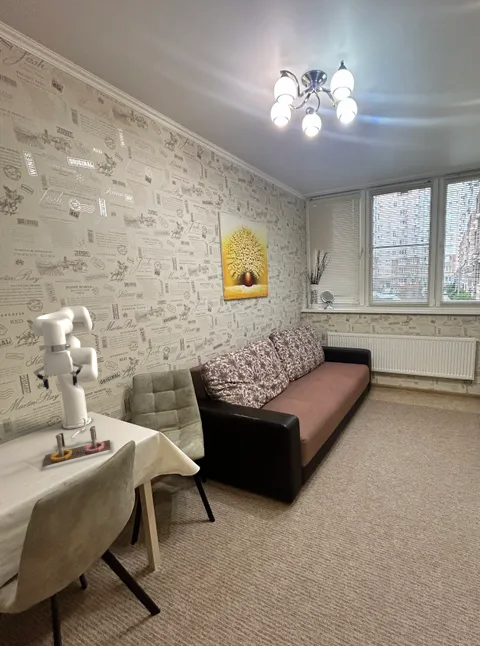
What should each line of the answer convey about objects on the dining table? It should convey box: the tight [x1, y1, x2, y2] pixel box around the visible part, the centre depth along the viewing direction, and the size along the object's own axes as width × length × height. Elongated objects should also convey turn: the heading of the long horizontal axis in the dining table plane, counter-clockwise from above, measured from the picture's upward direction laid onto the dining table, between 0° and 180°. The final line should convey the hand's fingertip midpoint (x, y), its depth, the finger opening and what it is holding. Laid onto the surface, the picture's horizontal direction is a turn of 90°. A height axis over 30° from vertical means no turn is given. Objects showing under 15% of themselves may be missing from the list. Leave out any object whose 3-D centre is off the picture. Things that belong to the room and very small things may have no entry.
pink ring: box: [85, 425, 104, 453], centre depth 138 cm, size 12×7×7 cm, turn 32°
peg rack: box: [41, 426, 111, 468], centre depth 133 cm, size 10×24×12 cm, turn 122°
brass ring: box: [50, 432, 72, 461], centre depth 132 cm, size 12×7×7 cm, turn 32°
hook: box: [66, 417, 87, 440], centre depth 149 cm, size 7×9×20 cm
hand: (61, 386), depth 135 cm, fingers open, 9 cm apart
